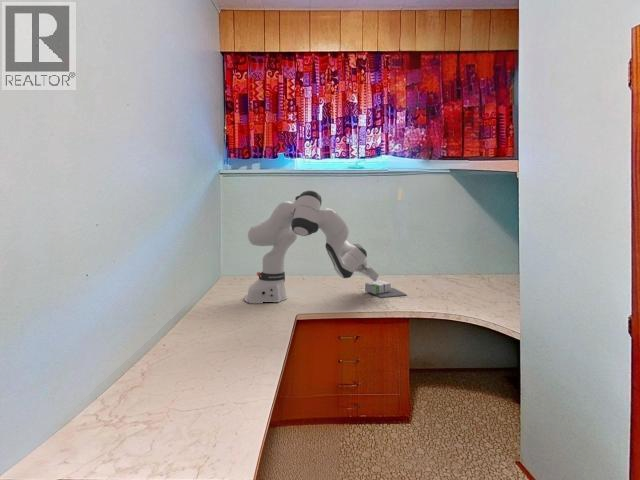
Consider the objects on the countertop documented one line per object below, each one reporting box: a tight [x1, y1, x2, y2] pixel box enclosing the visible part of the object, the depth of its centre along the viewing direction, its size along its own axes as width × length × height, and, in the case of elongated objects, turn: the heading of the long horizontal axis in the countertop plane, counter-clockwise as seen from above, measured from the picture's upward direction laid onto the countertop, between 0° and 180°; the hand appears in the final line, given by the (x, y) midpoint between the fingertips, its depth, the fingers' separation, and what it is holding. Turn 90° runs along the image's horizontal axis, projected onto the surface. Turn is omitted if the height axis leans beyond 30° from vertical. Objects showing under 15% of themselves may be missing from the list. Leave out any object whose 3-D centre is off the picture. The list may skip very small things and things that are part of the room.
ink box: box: [364, 279, 392, 295], centre depth 243 cm, size 9×5×12 cm
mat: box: [373, 287, 408, 299], centre depth 243 cm, size 16×16×1 cm
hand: (375, 280), depth 239 cm, fingers closed
